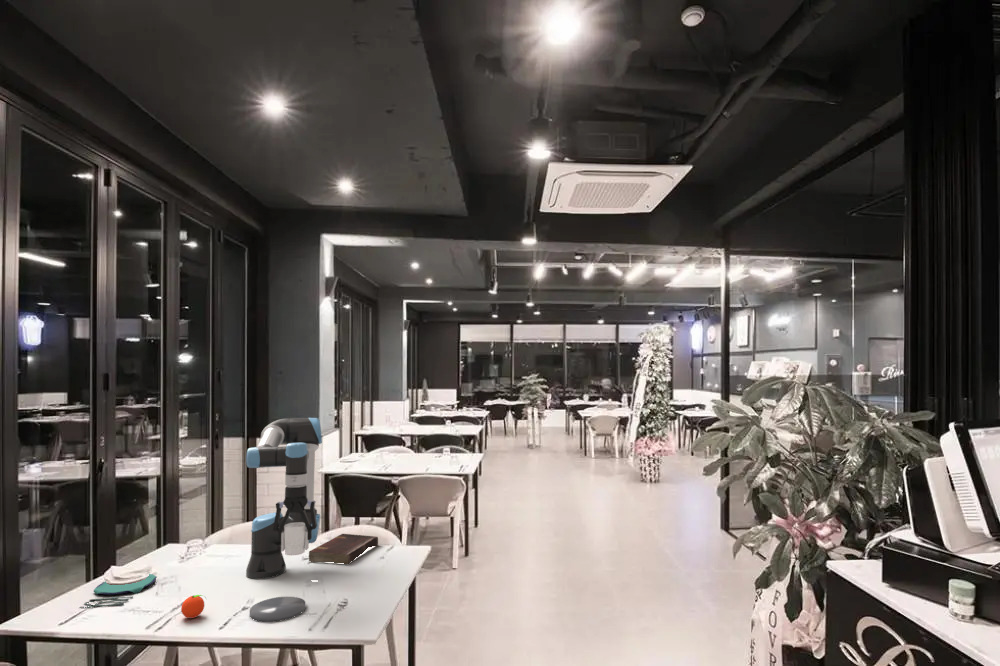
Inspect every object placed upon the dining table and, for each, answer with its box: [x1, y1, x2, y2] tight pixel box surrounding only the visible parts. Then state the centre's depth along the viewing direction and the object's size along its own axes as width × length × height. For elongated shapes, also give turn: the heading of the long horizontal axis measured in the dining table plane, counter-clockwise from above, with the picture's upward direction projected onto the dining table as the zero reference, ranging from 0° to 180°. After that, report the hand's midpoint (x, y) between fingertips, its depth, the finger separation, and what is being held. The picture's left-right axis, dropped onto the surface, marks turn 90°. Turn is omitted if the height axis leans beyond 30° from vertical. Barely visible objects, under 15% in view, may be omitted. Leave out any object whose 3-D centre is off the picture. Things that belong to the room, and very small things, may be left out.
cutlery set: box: [78, 573, 158, 609], centre depth 219 cm, size 20×30×2 cm, turn 8°
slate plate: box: [249, 596, 307, 623], centre depth 200 cm, size 18×18×2 cm
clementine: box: [180, 594, 207, 619], centre depth 196 cm, size 8×7×7 cm
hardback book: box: [308, 533, 379, 565], centre depth 264 cm, size 29×19×5 cm, turn 166°
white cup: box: [284, 522, 307, 556], centre depth 211 cm, size 8×8×10 cm
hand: (294, 549), depth 211 cm, fingers closed on white cup, 8 cm apart
